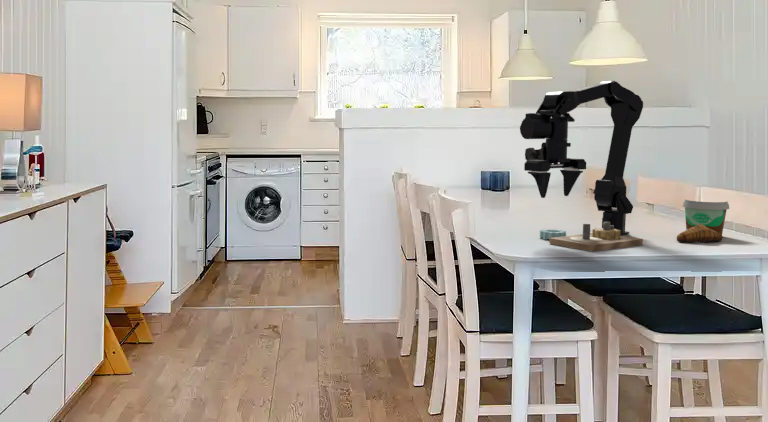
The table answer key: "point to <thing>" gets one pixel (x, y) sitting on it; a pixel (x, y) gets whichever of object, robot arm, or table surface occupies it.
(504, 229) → the table surface
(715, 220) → the food container
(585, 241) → the gear board
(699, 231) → the croissant
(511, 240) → the table surface
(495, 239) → the table surface
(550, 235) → the teal gear
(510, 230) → the table surface
